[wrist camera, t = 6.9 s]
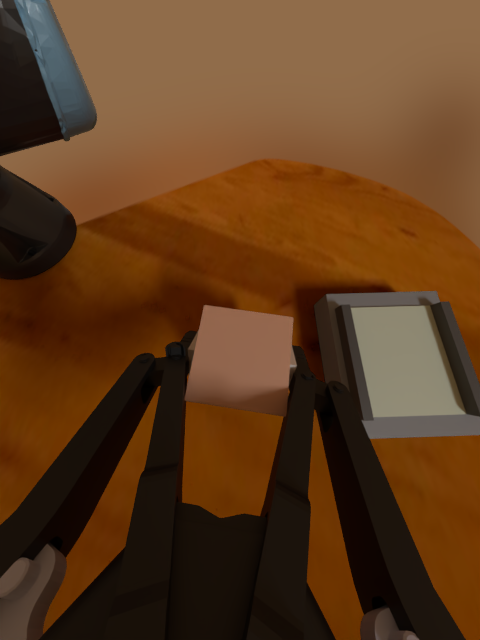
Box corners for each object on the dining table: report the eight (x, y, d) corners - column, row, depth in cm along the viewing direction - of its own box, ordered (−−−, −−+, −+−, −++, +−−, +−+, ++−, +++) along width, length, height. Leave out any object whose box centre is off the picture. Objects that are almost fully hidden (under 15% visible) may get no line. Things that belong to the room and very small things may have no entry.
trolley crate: (263, 393, 20) (286, 416, 10) (210, 385, 20) (184, 400, 11) (269, 340, 22) (293, 317, 12) (219, 333, 22) (204, 304, 12)
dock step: (313, 305, 27) (331, 288, 21) (408, 302, 27) (449, 285, 22) (332, 427, 22) (360, 444, 17) (444, 423, 22) (507, 439, 17)
